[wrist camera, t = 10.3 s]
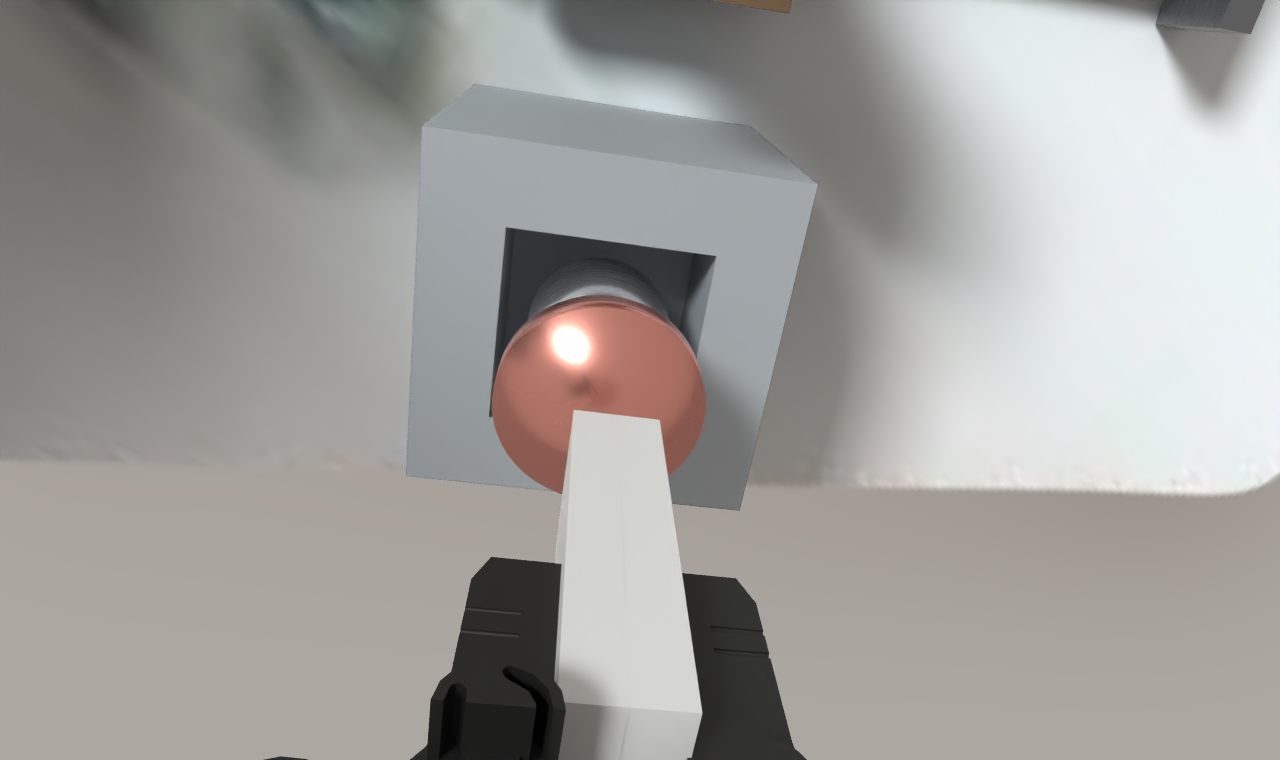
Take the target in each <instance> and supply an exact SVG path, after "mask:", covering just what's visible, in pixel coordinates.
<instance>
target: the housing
mask: <svg viewBox="0 0 1280 760" xmlns="http://www.w3.org/2000/svg"><path fill="white" fill-rule="evenodd" d="M817 186H818V184H817V183H816V182H814V181H813V180H812V179H811V178H810V177H809V176H807V175H806V174H805V173H804V172H803V171H802V170H801V169H799V168H798V167H797V166H796V165H795V164H794V163H792V162H791V161H790V160H789V159H788V158H787V157H786V156H784V155H783V154H782V153H781V152H780V151H779V150H778V149H776V148H775V147H774V146H773V145H772V144H771V143H769V142H768V141H767V140H766V139H765V138H764V137H763V136H761V135H760V134H759V133H758V132H757V131H756V130H755V129H753V128H752V127H748V126H742V125H735V124H729V123H722V122H716V121H709V120H703V119H697V118H690V117H684V116H677V115H671V114H664V113H658V112H651V111H645V110H638V109H632V108H626V107H619V106H613V105H606V104H600V103H593V102H587V101H580V100H574V99H567V98H561V97H555V96H548V95H542V94H535V93H529V92H522V91H516V90H509V89H503V88H496V87H490V86H483V85H477V84H474V85H473V86H472V87H471V88H469V89H468V90H467V91H465V92H464V93H463V94H462V95H460V96H459V97H458V98H457V99H455V100H454V101H453V102H452V103H450V104H449V105H448V106H446V107H445V108H444V109H443V110H441V111H440V112H439V113H438V114H436V115H435V116H434V117H433V118H431V119H430V120H429V121H427V122H426V123H425V124H424V125H422V139H421V161H420V183H419V205H418V227H417V248H416V270H415V292H414V314H413V336H412V358H411V380H410V401H409V423H408V445H407V467H406V476H411V477H420V478H431V479H440V480H449V481H459V482H469V483H478V484H488V485H498V486H507V487H517V488H526V489H536V490H547V491H553V490H550V489H548V488H546V487H544V486H543V485H541V484H539V483H537V482H536V481H534V480H533V479H531V478H530V477H529V476H527V475H526V474H525V473H524V472H523V471H522V470H521V469H520V468H518V467H517V466H516V464H515V463H514V462H513V461H512V460H511V458H510V457H509V456H508V454H507V453H506V451H505V449H504V448H503V446H502V444H501V442H500V440H499V438H498V435H497V432H496V429H495V425H494V422H493V414H492V394H493V388H494V383H495V379H496V375H497V371H498V367H499V364H500V361H501V358H502V355H503V353H504V351H505V349H506V347H507V345H508V344H509V342H510V341H511V339H512V338H513V336H514V335H515V333H516V332H517V331H518V330H519V329H520V328H521V327H522V326H523V325H524V324H525V323H526V322H527V320H528V315H529V310H530V306H531V303H532V300H533V298H534V296H535V294H536V292H537V290H538V289H539V287H540V286H541V284H542V283H543V282H544V281H545V280H546V279H547V278H548V277H549V276H550V275H551V274H552V273H553V272H555V271H556V270H558V269H559V268H561V267H563V266H565V265H567V264H569V263H571V262H574V261H577V260H581V259H586V258H598V257H599V258H610V259H615V260H619V261H622V262H625V263H627V264H629V265H631V266H633V267H635V268H637V269H638V270H640V271H641V272H643V273H644V274H645V275H646V276H647V277H648V278H649V279H650V280H651V281H652V282H653V283H654V284H655V286H656V287H657V289H658V290H659V292H660V294H661V296H662V298H663V300H664V303H665V306H666V309H667V314H668V318H669V321H671V322H672V323H673V324H674V325H675V326H676V327H677V328H678V329H679V331H680V332H681V333H682V334H683V335H684V337H685V338H686V340H687V341H688V343H689V344H690V346H691V348H692V350H693V352H694V354H695V356H696V360H697V363H698V366H699V369H700V373H701V377H702V380H703V384H704V390H705V396H706V411H705V418H704V423H703V427H702V430H701V434H700V436H699V438H698V440H697V443H696V445H695V446H694V448H693V450H692V451H691V453H690V454H689V456H688V457H687V458H686V460H685V461H684V462H683V463H682V464H681V466H679V467H678V468H677V469H676V470H675V471H674V472H673V473H672V474H671V475H669V476H668V481H669V487H670V494H671V501H672V504H680V505H690V506H700V507H709V508H719V509H729V510H738V511H739V510H740V507H741V503H742V498H743V494H744V490H745V486H746V482H747V478H748V473H749V469H750V465H751V461H752V457H753V453H754V448H755V444H756V440H757V436H758V432H759V428H760V423H761V419H762V415H763V411H764V407H765V403H766V398H767V394H768V390H769V386H770V382H771V378H772V373H773V369H774V365H775V361H776V357H777V353H778V348H779V344H780V340H781V336H782V332H783V328H784V323H785V319H786V315H787V311H788V307H789V303H790V298H791V294H792V290H793V286H794V282H795V278H796V273H797V269H798V265H799V261H800V257H801V253H802V249H803V244H804V240H805V236H806V232H807V228H808V224H809V219H810V215H811V211H812V207H813V203H814V199H815V194H816V190H817Z"/></svg>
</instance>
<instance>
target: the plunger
mask: <svg viewBox="0 0 1280 760" xmlns="http://www.w3.org/2000/svg"><path fill="white" fill-rule="evenodd" d="M574 410H580V411H588V412H597V413H605V414H614V415H623V416H631V417H640V418H648V419H657V420H660V426H661V433H662V439H663V446H664V453H665V460H666V467H667V474H668V476H669V475H671V474H672V473H673V472H674V471H675V470H676V469H677V468H678V467H679V466H681V464H682V463H683V462H684V461H685V460H686V458H687V457H688V456H689V454H690V453H691V451H692V450H693V448H694V446H695V445H696V443H697V440H698V438H699V436H700V434H701V430H702V427H703V423H704V418H705V411H706V396H705V390H704V384H703V380H702V377H701V373H700V369H699V366H698V363H697V360H696V356H695V354H694V352H693V350H692V348H691V346H690V344H689V343H688V341H687V340H686V338H685V337H684V335H683V334H682V333H681V332H680V331H679V329H678V328H677V327H676V326H675V325H674V324H673V323H672V322H671V321H669V318H668V314H667V309H666V306H665V303H664V300H663V298H662V296H661V294H660V292H659V290H658V289H657V287H656V286H655V284H654V283H653V282H652V281H651V280H650V279H649V278H648V277H647V276H646V275H645V274H644V273H643V272H641V271H640V270H638V269H637V268H635V267H633V266H631V265H629V264H627V263H625V262H622V261H619V260H615V259H610V258H599V257H598V258H586V259H581V260H577V261H574V262H571V263H569V264H567V265H565V266H563V267H561V268H559V269H558V270H556V271H555V272H553V273H552V274H551V275H550V276H549V277H548V278H547V279H546V280H545V281H544V282H543V283H542V284H541V286H540V287H539V289H538V290H537V292H536V294H535V296H534V298H533V300H532V303H531V306H530V310H529V315H528V320H527V322H526V323H525V324H524V325H523V326H522V327H521V328H520V329H519V330H518V331H517V332H516V333H515V335H514V336H513V338H512V339H511V341H510V342H509V344H508V345H507V347H506V349H505V351H504V353H503V355H502V358H501V361H500V364H499V367H498V371H497V375H496V379H495V383H494V388H493V394H492V414H493V422H494V425H495V429H496V432H497V435H498V438H499V440H500V442H501V444H502V446H503V448H504V449H505V451H506V453H507V454H508V456H509V457H510V458H511V460H512V461H513V462H514V463H515V464H516V466H517V467H518V468H520V469H521V470H522V471H523V472H524V473H525V474H526V475H527V476H529V477H530V478H531V479H533V480H534V481H536V482H537V483H539V484H541V485H543V486H544V487H546V488H548V489H550V490H553V491H555V492H558V493H560V494H562V493H563V486H564V478H565V471H566V464H567V456H568V449H569V441H570V434H571V427H572V419H573V412H574Z"/></svg>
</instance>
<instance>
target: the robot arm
mask: <svg viewBox="0 0 1280 760" xmlns="http://www.w3.org/2000/svg"><path fill="white" fill-rule="evenodd" d="M266 760H307V759H299V758H290V757H289V758H288V757H276V758H271V759H266ZM410 760H806V759H805V758H804V757H803V756H802V755H801V754H800V753H799V752H798V751H797V750H795V748H794V746H793V743H792V740H791V736H790V732H789V728H788V725H787V721H786V717H785V713H784V709H783V706H782V702H781V698H780V694H779V690H778V686H777V682H776V679H775V675H774V671H773V667H772V663H771V659H769V651H768V648H767V644H766V640H765V636H763V629H762V625H761V621H760V617H759V613H758V609H757V605H756V603H755V601H754V600H753V599H752V598H751V597H750V595H749V594H748V593H747V592H746V590H745V589H744V588H743V587H742V585H741V584H740V583H739V582H738V580H737V579H736V578H726V577H716V576H706V575H695V574H685V573H682V570H681V563H680V556H679V549H678V542H677V536H676V529H675V522H674V515H673V508H672V501H671V494H670V487H669V481H668V474H667V467H666V460H665V453H664V446H663V439H662V433H661V426H660V420H657V419H648V418H640V417H631V416H623V415H614V414H605V413H597V412H588V411H580V410H574V412H573V419H572V427H571V434H570V441H569V449H568V456H567V464H566V471H565V478H564V486H563V493H562V500H561V508H560V515H559V522H558V530H557V537H556V548H555V561H554V563H548V562H547V563H546V562H537V561H527V560H517V559H516V560H515V559H506V558H495V557H491V558H490V559H489V560H488V561H487V562H486V563H485V564H484V566H483V567H482V568H481V569H480V570H479V571H478V572H477V573H476V574H475V575H474V577H473V578H472V579H471V583H470V588H469V592H468V597H467V602H466V607H465V612H464V616H463V620H462V625H461V631H460V634H459V639H458V643H457V648H456V653H455V658H454V662H453V667H452V671H451V672H450V673H449V674H448V675H447V676H445V677H444V678H443V679H442V680H441V681H440V682H439V684H438V687H437V688H436V690H435V692H434V694H433V696H432V698H431V704H430V718H429V732H428V744H427V746H426V747H425V748H424V749H422V750H421V751H420V752H419V753H418V754H416V755H415V756H414V757H413V758H412V759H410Z"/></svg>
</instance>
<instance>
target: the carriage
mask: <svg viewBox="0 0 1280 760" xmlns="http://www.w3.org/2000/svg"><path fill="white" fill-rule="evenodd" d="M712 1H718V2H724V3H730V4H735V5H741V6H747V7H753V8H759V9H765V10H771V11H776V12H783V13H789V11H790V6H791V2H792V0H712Z"/></svg>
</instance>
